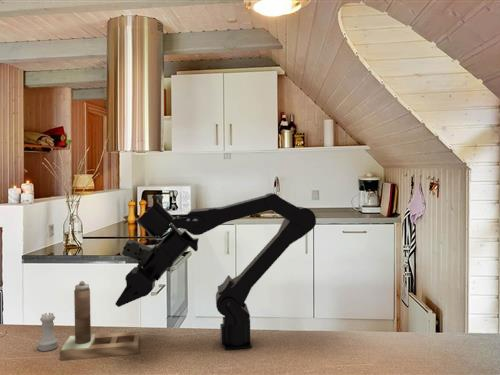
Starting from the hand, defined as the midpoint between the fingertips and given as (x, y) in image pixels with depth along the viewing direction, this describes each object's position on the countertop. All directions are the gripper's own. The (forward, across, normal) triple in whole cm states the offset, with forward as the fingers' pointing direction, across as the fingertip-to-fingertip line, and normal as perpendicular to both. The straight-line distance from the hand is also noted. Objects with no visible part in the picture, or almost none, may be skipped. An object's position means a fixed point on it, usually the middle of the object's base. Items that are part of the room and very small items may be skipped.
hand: (121, 299), depth 100 cm
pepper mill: (+13, +1, 0) cm, 13 cm away
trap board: (+11, 0, +5) cm, 12 cm away
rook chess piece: (+21, -2, -4) cm, 21 cm away
